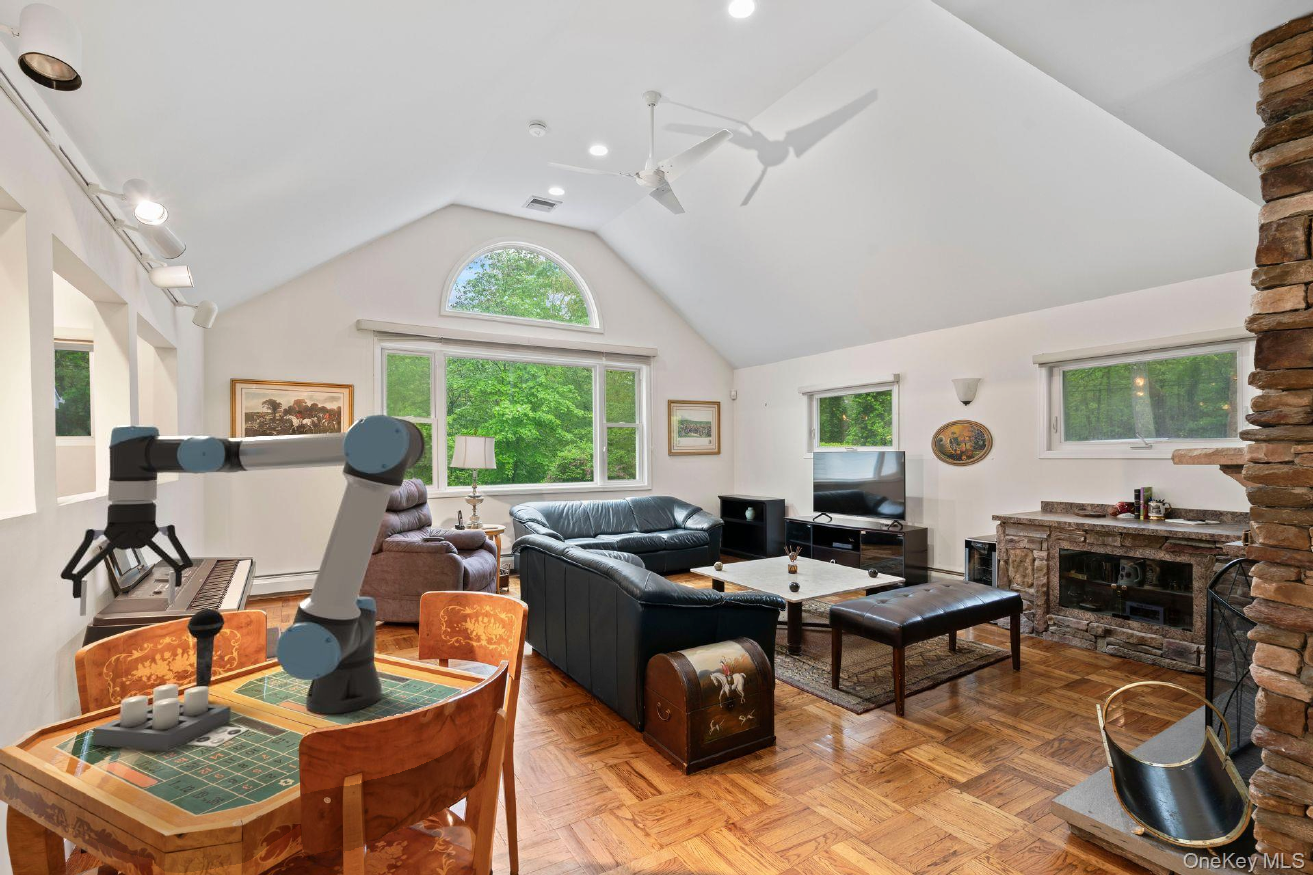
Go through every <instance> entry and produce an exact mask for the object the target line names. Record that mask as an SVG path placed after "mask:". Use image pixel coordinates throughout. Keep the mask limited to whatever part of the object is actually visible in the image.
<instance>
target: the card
mask: <svg viewBox="0 0 1313 875" xmlns="http://www.w3.org/2000/svg"><path fill="white" fill-rule="evenodd" d="M249 730H250V728H245V727H236V726H234V727H233V726H225V725H221V726H219V727H217V728H215V729H213V730H211V731H209V732H207V733H205V734H203V735H201V736H199V737H197V738H195V739H193V740H191V741H189V742H187V744H186V745H188V746H194V747H195V746H198V747H208V748H217V747H219V746H221V745H223V744H225V743H226V742H228V741H230V740H232V739H234V738H236V737H238V736H241V735H242V734H244V733H245V732H248V731H249Z"/></svg>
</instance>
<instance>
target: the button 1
mask: <svg viewBox="0 0 1313 875" xmlns="http://www.w3.org/2000/svg"><path fill="white" fill-rule="evenodd" d="M148 706H149V696H148V695H135V696H130V697H127V698H124V699H122V700H121V701H120V713H119V714H120V715H119V716H120V717H119V718H120V727H123V728H128V727H135V726H139V725H141V724H144V723H146V722H147V710H148Z"/></svg>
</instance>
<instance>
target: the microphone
mask: <svg viewBox="0 0 1313 875" xmlns="http://www.w3.org/2000/svg"><path fill="white" fill-rule="evenodd" d="M225 622H226V621H225V619H224V616H223V615H222V613H221V612H220V611H218V610H216V609H212V608H206V609H202V610H199V611H197V612H196V613H195V614H193V615H192V616H191V617H190V619H189V621H188V624H187V626H186V628H187V630H188V633H189V635H191V636H192V637H193V638H194V639H196V656H195V657H196V662H195V663H196V665H195V666H196V670H195V671H196V673H195V674H196V675H195V676H196V678H195V680H196V682H195V683H196V686H195V687H200V686H206V687H209V685H211V682H212V669H213V657H214V647H215V646H214V645H215V644H214V643H215V637H216V636H218V634H220V632H221V631H222V629H223V627H224V625H225Z"/></svg>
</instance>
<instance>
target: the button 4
mask: <svg viewBox="0 0 1313 875" xmlns="http://www.w3.org/2000/svg"><path fill="white" fill-rule="evenodd" d="M209 691H210V688H209V686H208V687H206V686H200V687H199V686H195V687H190V688H187V689H185V690H184V691H183V694H184V695H183V703H184V707H183V716H188V717H190V716H197V715H201V714H204V713H206V712H207V711H208V704H209Z"/></svg>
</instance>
